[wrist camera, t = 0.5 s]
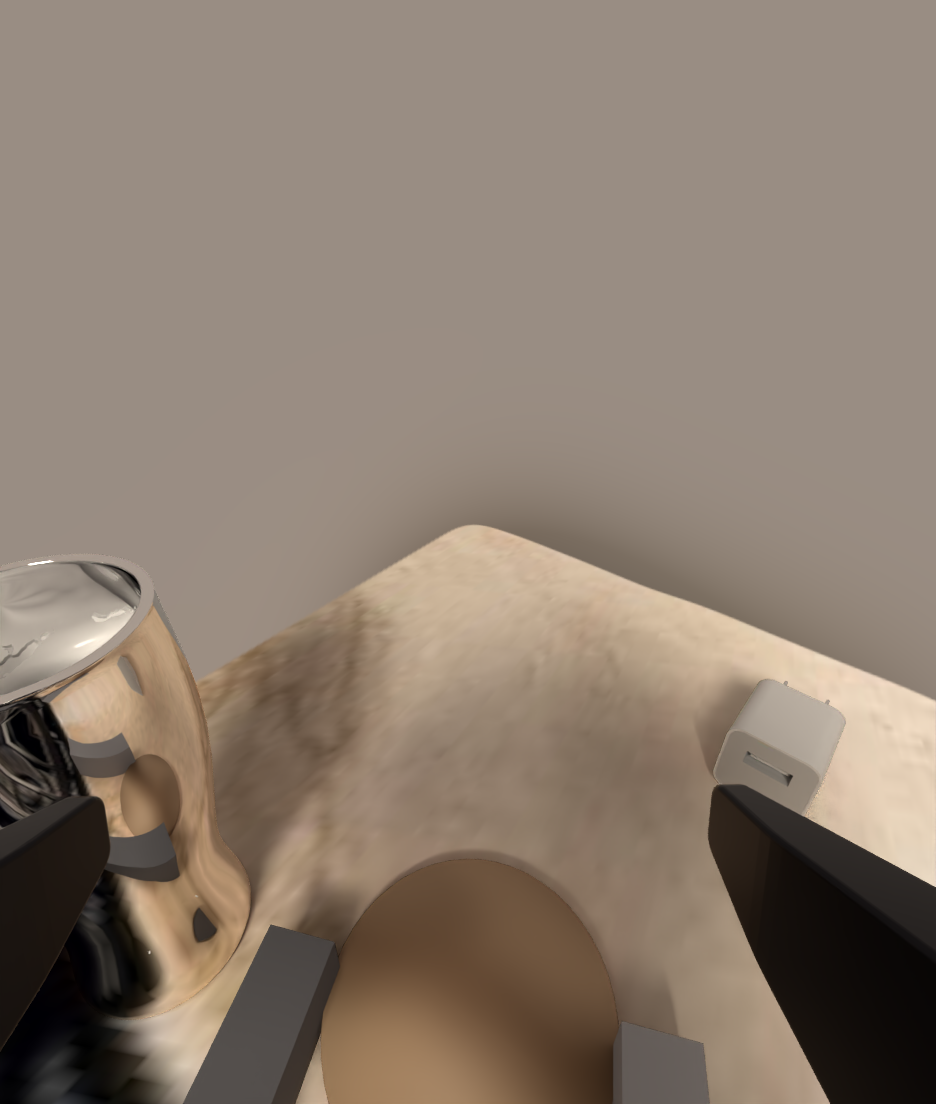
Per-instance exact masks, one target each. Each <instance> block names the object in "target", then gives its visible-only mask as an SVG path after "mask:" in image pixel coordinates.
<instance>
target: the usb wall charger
mask: <svg viewBox="0 0 936 1104" xmlns="http://www.w3.org/2000/svg"><path fill="white" fill-rule="evenodd" d="M787 683H788V682H787V681H785V682H784V684H782V683H779V682H777V681H775V680H771V679H765V680H762V681H760V682H759V683H758V684H757V686H756V688H755V689H754V691H753V692H752V694H751V696H750V697H749V699H748V700H747V702H746V704H745V705H744V707H743V708H742V710H741V712H740V713H739V715H738V716H737V718H736V720H735V721H734V723H733V724H732V726H731V728H730V729H729V731H728V732H727V734H726V737H725V740H724V742H723V745H722V748H721V750H720V753H719V756H718V759H717V761H716V764H715V767H714V769H713V775H714V777H715V779H716V780H717V782H718V783H719V784H743V785H746V786H748V787H750V788H752V789H753V790H755V791H757V792H759V793H761V794H763V795H765V796H766V797H768V798H770V799H772V800H774V801H776V802H778V803H780V804H781V805H783V806H785V807H787V808H789V809H791V810H793V811H794V812H796V813H798V814H800V815H802V816H805V814H806V812H807V811H808V809H809V807H810V805H811V803H812V801H813V799H814V798H815V796H816V794H817V792H818V790H819V788H820V786H821V784H822V782H823V780H824V777H825V774H826V772H827V769H828V767H829V764H830V762H831V759H832V757H833V754H834V752H835V749H836V747H837V744H838V742H839V739H840V737H841V734H842V732H843V729H844V727H845V724H846V721H845V718H844V716H843V714H842V713H841V712H840V711H839V710H837V709H836V708H834V707H832V706H830V705H828V704H829V702H830V701H829V700H827V701H826V703H823V702H821V701H819V700H816V699H814V698H812V697H810V696H808V695H806V694H803V693H801V692H799V691H797V690H795V689H792V688H790V687H788V686H787Z"/></svg>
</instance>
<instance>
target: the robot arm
mask: <svg viewBox="0 0 936 1104" xmlns="http://www.w3.org/2000/svg"><path fill="white" fill-rule="evenodd" d="M708 840H709V845H710V849H711V852H712V854H713V857H714V859H715V862H716V864H717V866H718V869H719V871H720V874H721V876H722V879H723V881H724V884H725V886H726V889H727V891H728V893H729V896H730V898H731V901H732V903H733V906H734V908H735V911H736V913H737V916H738V918H739V920H740V923H741V925H742V928H743V930H744V933H745V935H746V938H747V940H748V942H749V945H750V947H751V949H752V952H753V954H754V956H755V958H756V960H757V962H758V964H759V967H760V969H761V971H762V973H763V975H764V977H765V979H766V981H767V983H768V984H769V986H770V988H771V990H772V992H773V994H774V996H775V998H776V1000H777V1002H778V1004H779V1006H780V1008H781V1010H782V1011H783V1013H784V1015H785V1017H786V1019H787V1021H788V1023H789V1025H790V1027H791V1029H792V1031H793V1033H794V1035H795V1037H796V1038H797V1040H798V1042H799V1044H800V1046H801V1048H802V1050H803V1052H804V1054H805V1056H806V1058H807V1060H808V1062H809V1063H810V1065H811V1067H812V1069H813V1071H814V1073H815V1075H816V1077H817V1079H818V1081H819V1083H820V1085H821V1087H822V1089H823V1090H824V1092H825V1094H826V1096H827V1098H828V1100H829V1102H830V1104H936V887H934V886H932V885H930V884H929V883H927V882H925V881H923V880H921V879H919V878H917V877H915V876H914V875H912V874H910V873H908V872H906V871H904V870H902V869H901V868H899V867H897V866H895V865H893V864H891V863H889V862H888V861H886V860H884V859H882V858H880V857H878V856H876V855H874V854H873V853H871V852H869V851H867V850H865V849H863V848H861V847H860V846H858V845H856V844H854V843H852V842H850V841H848V840H847V839H845V838H843V837H841V836H839V835H837V834H835V833H834V832H832V831H830V830H828V829H826V828H824V827H822V826H820V825H819V824H817V823H815V822H813V821H811V820H809V819H807V818H806V817H804V816H802V815H800V814H798V813H796V812H794V811H793V810H791V809H789V808H787V807H785V806H783V805H781V804H780V803H778V802H776V801H774V800H772V799H770V798H768V797H766V796H765V795H763V794H761V793H759V792H757V791H755V790H753V789H752V788H750V787H748V786H746V785H743V784H719V785H717V786H716V787H714V789H713V792H712V797H711V807H710V817H709V827H708ZM110 849H111V843H110V836H109V830H108V823H107V817H106V810H105V805H104V802H103V800H102V799H101V798H99V797H97V796H72V797H68V798H65V799H63V800H61V801H59V802H57V803H55V804H53V805H50V806H48V807H46V808H44V809H42V810H40V811H38V812H36V813H34V814H31V815H29V816H27V817H25V818H23V819H21V820H19V821H17V822H15V823H13V824H10V825H8V826H6V827H4V828H2V829H0V1051H1V1049H2V1048H3V1046H4V1045H5V1043H6V1041H7V1040H8V1038H9V1037H10V1035H11V1033H12V1032H13V1030H14V1029H15V1027H16V1026H17V1024H18V1022H19V1021H20V1019H21V1018H22V1016H23V1015H24V1013H25V1011H26V1010H27V1008H28V1007H29V1005H30V1004H31V1002H32V1000H33V999H34V997H35V996H36V994H37V992H38V991H39V989H40V987H41V986H42V984H43V982H44V981H45V979H46V977H47V976H48V974H49V972H50V970H51V968H52V967H53V965H54V963H55V961H56V960H57V958H58V956H59V954H60V952H61V950H62V948H63V946H64V944H65V943H66V941H67V939H68V937H69V935H70V933H71V931H72V929H73V927H74V925H75V923H76V922H77V920H78V918H79V916H80V914H81V912H82V910H83V908H84V906H85V904H86V903H87V901H88V899H89V897H90V895H91V893H92V891H93V889H94V887H95V885H96V884H97V882H98V880H99V878H100V876H101V874H102V872H103V870H104V868H105V866H106V864H107V862H108V859H109V855H110Z"/></svg>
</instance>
